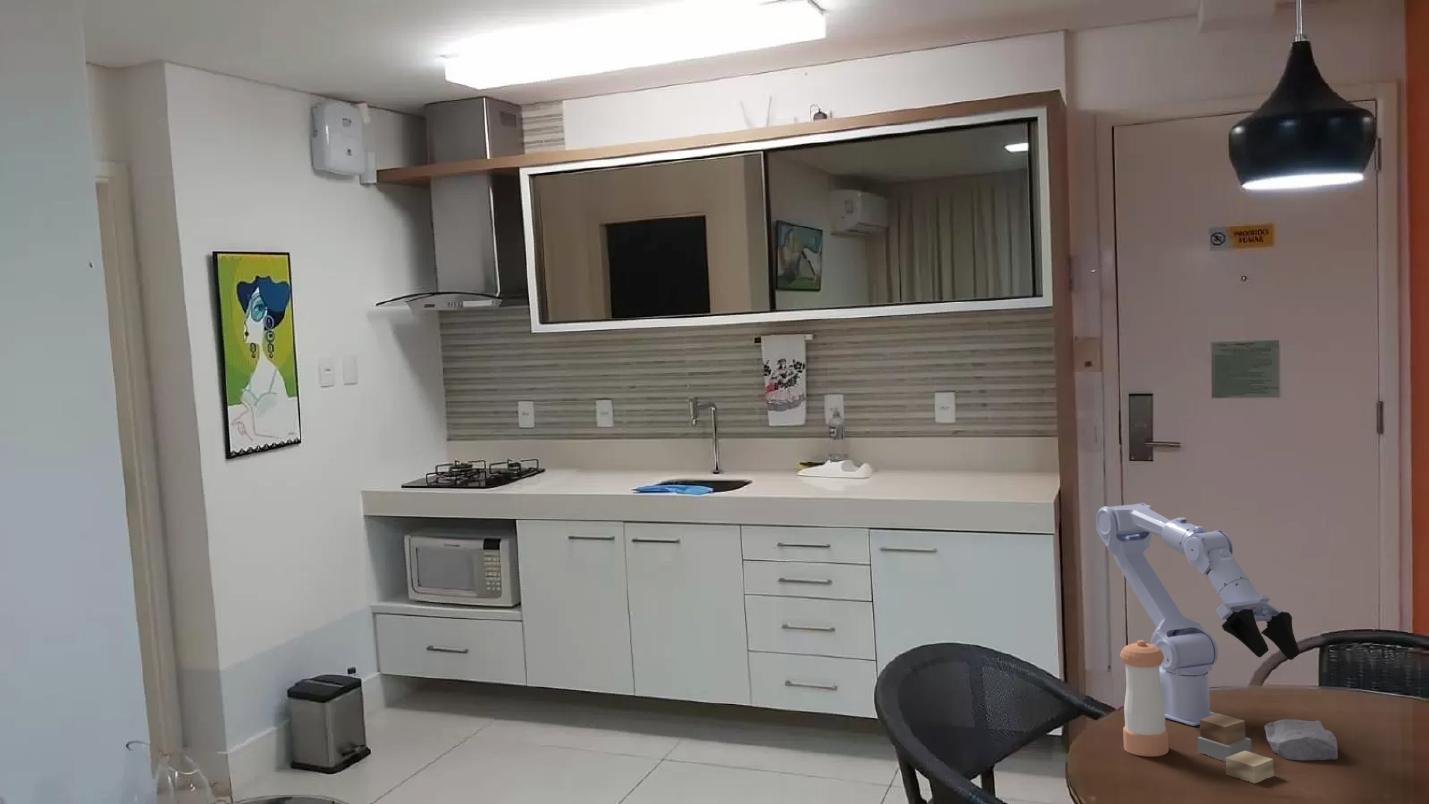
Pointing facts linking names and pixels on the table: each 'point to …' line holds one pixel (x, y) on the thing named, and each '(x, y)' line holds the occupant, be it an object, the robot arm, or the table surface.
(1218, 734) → the walnut block
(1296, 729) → the stone block
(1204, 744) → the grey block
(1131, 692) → the pepper shaker
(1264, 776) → the oak block
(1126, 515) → the robot arm
